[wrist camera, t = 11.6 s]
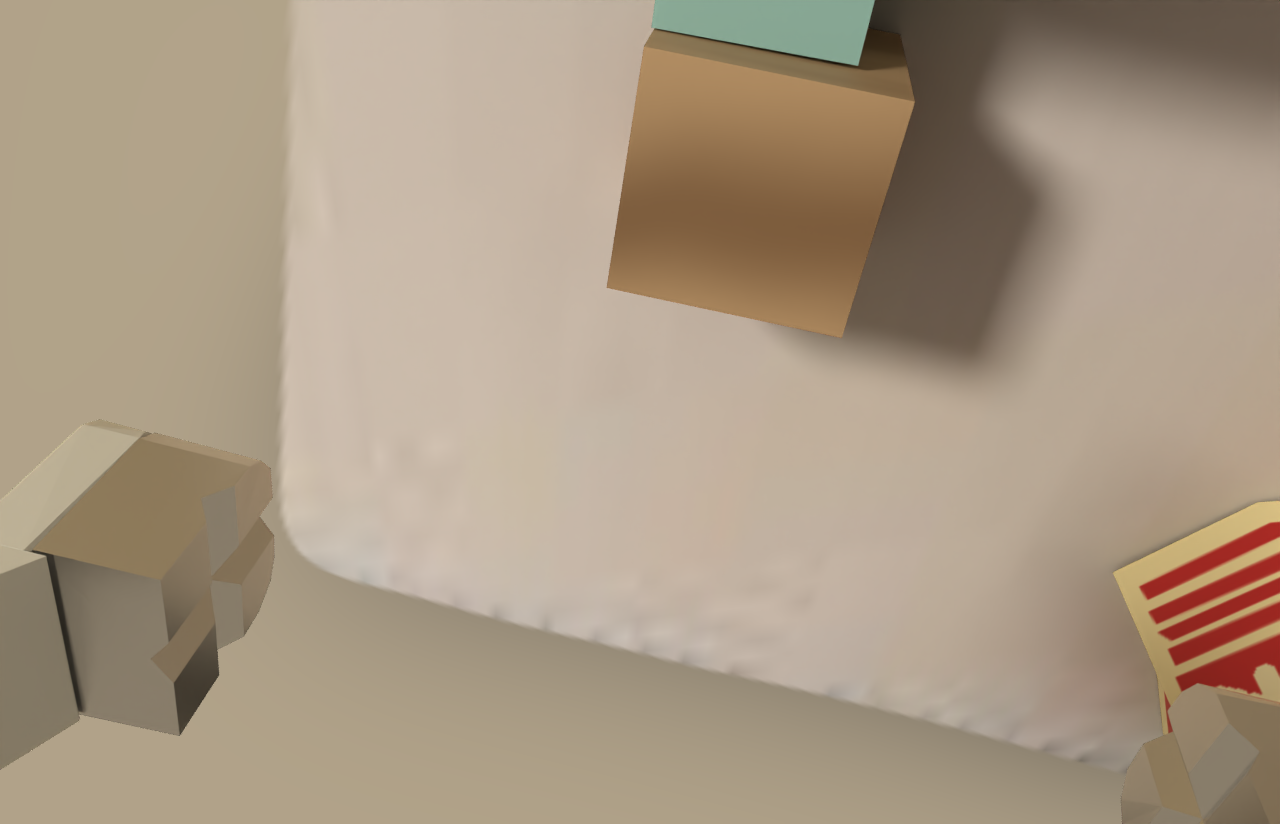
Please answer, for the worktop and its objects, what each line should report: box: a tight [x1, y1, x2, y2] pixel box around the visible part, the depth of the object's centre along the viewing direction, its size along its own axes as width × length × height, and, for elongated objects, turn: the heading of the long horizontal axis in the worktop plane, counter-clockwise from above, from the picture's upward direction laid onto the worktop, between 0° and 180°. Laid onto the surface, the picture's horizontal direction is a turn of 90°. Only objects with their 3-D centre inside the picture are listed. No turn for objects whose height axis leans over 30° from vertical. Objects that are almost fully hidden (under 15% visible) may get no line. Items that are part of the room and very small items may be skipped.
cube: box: [607, 28, 915, 338], centre depth 22 cm, size 5×5×5 cm
